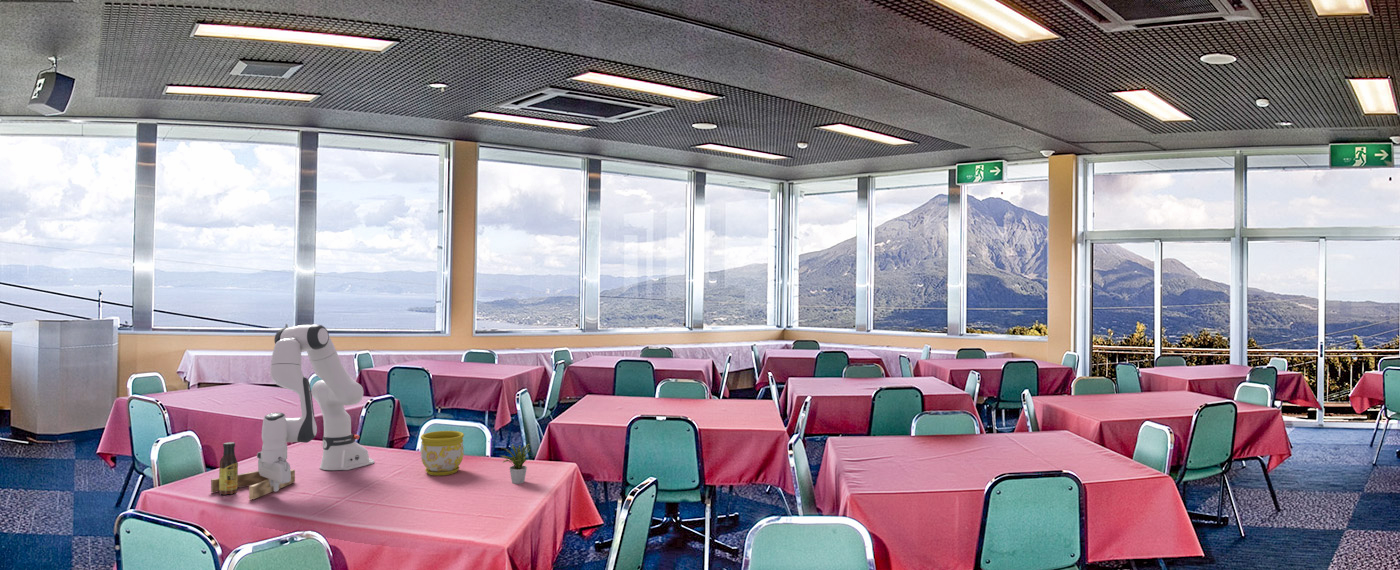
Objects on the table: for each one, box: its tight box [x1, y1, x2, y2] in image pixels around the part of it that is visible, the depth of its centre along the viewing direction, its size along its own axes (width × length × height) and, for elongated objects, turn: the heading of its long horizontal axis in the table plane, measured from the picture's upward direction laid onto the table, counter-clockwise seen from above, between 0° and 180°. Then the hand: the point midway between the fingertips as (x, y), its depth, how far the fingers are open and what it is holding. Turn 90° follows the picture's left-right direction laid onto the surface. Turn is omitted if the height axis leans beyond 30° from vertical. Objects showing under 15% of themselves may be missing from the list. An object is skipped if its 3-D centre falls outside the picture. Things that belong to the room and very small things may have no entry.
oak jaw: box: [248, 469, 296, 500], centre depth 317 cm, size 26×4×5 cm, turn 172°
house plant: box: [499, 443, 533, 485], centre depth 335 cm, size 14×14×16 cm
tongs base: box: [210, 470, 268, 493], centre depth 321 cm, size 26×8×7 cm, turn 142°
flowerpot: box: [420, 430, 465, 477], centre depth 348 cm, size 18×18×16 cm
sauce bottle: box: [218, 441, 239, 496], centre depth 313 cm, size 6×6×20 cm
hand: (274, 490), depth 310 cm, fingers closed
